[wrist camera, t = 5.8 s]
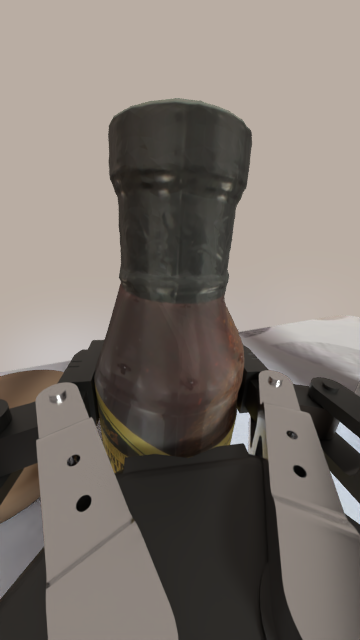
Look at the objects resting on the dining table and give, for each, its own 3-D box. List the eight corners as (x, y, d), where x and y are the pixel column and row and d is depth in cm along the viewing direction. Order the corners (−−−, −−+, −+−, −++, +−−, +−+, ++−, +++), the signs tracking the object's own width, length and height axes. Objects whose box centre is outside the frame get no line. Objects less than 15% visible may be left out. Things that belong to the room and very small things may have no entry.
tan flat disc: (101, 387, 25) (99, 366, 24) (61, 525, 13) (52, 495, 12) (-22, 396, 23) (-30, 373, 22) (-204, 568, 11) (-244, 537, 10)
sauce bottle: (117, 477, 16) (84, 162, 9) (195, 459, 17) (222, 179, 10) (112, 621, 10) (-7, -3, 3) (231, 575, 11) (360, 96, 4)
